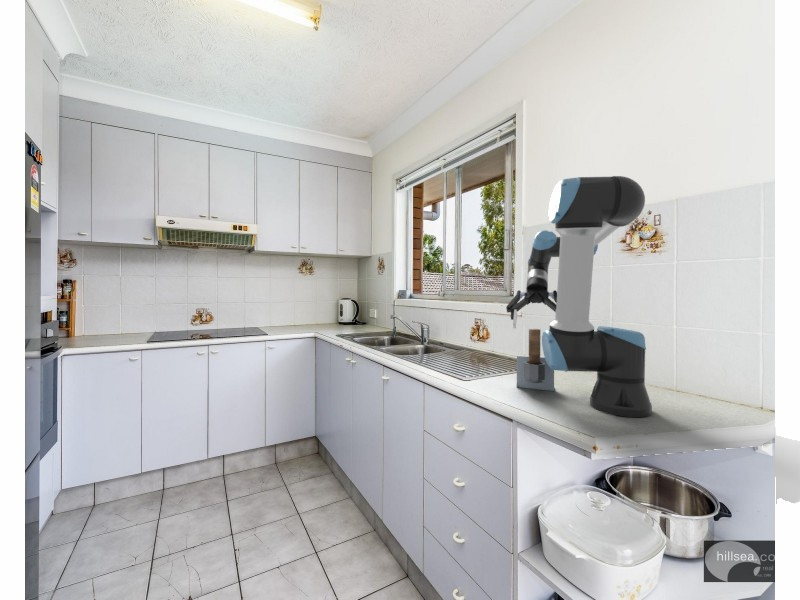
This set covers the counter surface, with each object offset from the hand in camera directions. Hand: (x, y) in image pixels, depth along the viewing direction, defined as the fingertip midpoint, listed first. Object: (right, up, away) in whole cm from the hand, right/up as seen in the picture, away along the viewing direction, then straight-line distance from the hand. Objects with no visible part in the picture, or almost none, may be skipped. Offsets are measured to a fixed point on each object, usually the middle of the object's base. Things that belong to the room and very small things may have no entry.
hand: (535, 326), depth 122 cm
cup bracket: (-2, -17, -4) cm, 18 cm away
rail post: (-2, -17, -5) cm, 17 cm away
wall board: (+1, -21, +2) cm, 22 cm away
